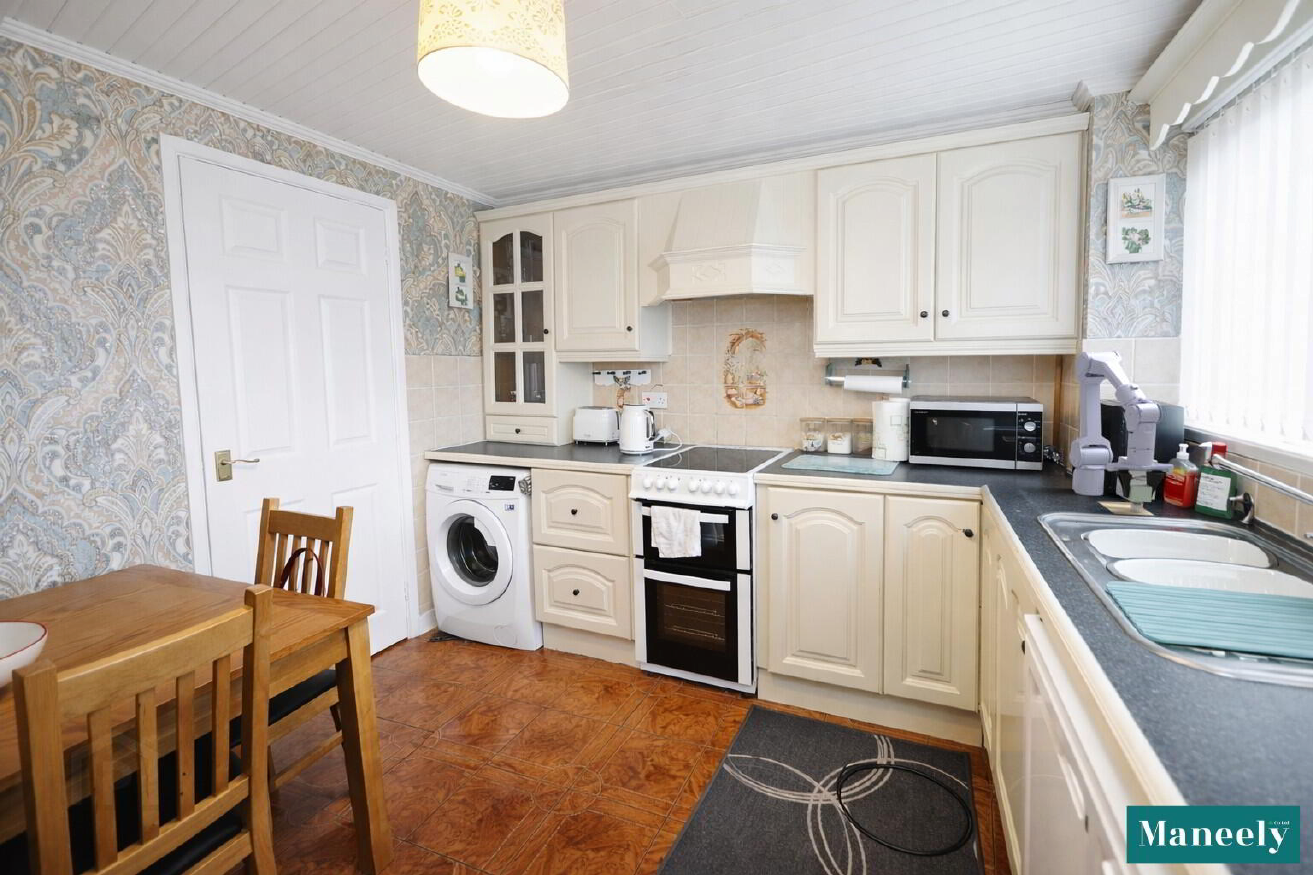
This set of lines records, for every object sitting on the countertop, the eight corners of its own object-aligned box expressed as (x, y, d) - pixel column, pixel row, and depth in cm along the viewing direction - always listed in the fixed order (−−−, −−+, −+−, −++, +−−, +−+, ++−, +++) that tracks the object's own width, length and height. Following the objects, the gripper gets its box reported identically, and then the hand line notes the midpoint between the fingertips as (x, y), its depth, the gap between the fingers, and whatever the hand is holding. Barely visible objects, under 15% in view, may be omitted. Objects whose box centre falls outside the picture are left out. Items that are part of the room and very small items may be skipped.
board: (1097, 505, 184) (1097, 501, 184) (1133, 506, 182) (1134, 502, 181) (1114, 518, 171) (1115, 513, 171) (1154, 519, 168) (1155, 515, 168)
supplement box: (1125, 502, 186) (1128, 460, 184) (1115, 496, 193) (1117, 456, 191) (1155, 503, 184) (1158, 460, 182) (1143, 497, 191) (1146, 456, 189)
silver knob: (1128, 514, 174) (1129, 500, 174) (1139, 514, 174) (1140, 501, 173) (1132, 516, 172) (1133, 503, 171) (1143, 517, 171) (1144, 503, 171)
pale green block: (1124, 497, 175) (1125, 483, 174) (1144, 497, 173) (1145, 483, 173) (1130, 501, 171) (1131, 486, 170) (1151, 501, 169) (1152, 487, 169)
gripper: (1114, 449, 169) (1111, 499, 171) (1180, 450, 164) (1176, 502, 166) (1105, 445, 175) (1102, 493, 177) (1168, 446, 171) (1164, 495, 173)
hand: (1137, 497), depth 172 cm, fingers closed on pale green block, 5 cm apart
